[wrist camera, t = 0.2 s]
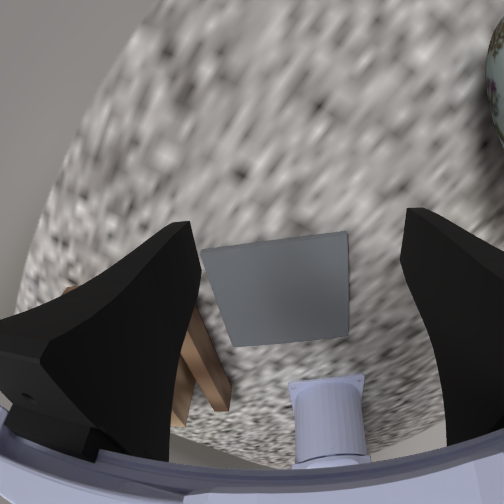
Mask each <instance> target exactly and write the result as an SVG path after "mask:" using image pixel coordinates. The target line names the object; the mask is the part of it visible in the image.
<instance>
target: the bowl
mask: <svg viewBox="0 0 504 504" xmlns="http://www.w3.org/2000/svg"><path fill="white" fill-rule="evenodd" d="M486 85H487V96H488V102H489V108H490V112H491V115H492V118H493V122H494V125H495V128H496V131H497V134H498V136H499V139H500V141H501V143H502V146H503V148H504V16H503V17H502V19H501V20H500V22H499V24H498V25H497V27H496V29H495V31H494V33H493V35H492V38H491V41H490V45H489V48H488V55H487V64H486Z"/></svg>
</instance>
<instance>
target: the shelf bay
mask: <svg viewBox="0 0 504 504" xmlns="http://www.w3.org/2000/svg"><path fill="white" fill-rule="evenodd" d="M77 287H79V286H74V287H67V288H66V290H65V291H64V293H63V294H62V295H64V294H66V293H67V292H69V291H71V290H73V289H75V288H77ZM181 354H182V356H183V358H184V360H185V362H186V363H187V365H188V367H189V369H190V370H191V372H192V374H193V376H194V377H195V379H196V381H197V383H198V384H199V386H200V388H201V389H202V391H203V393H204V394H205V396H206V398H207V399H208V401H209V403H210V404H211V406H212V408H213V409H214V411H229V407H230V399H231V391H232V387H231V385H230V383H229V380H228V378H227V376H226V374H225V372H224V369H223V367H222V365H221V363H220V360H219V358H218V356H217V354H216V351H215V349H214V347H213V345H212V342H211V340H210V338H209V335H208V333H207V331H206V328H205V326H204V323H203V321H202V319H201V316H200V314H199V311H198V309H197V307H196V304H195V307H194V310H193V313H192V317H191V320H190V323H189V326H188V329H187V333H186V336H185V339H184V342H183V346H182V349H181Z"/></svg>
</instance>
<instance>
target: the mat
mask: <svg viewBox="0 0 504 504" xmlns="http://www.w3.org/2000/svg"><path fill="white" fill-rule="evenodd" d="M200 255H201V258H202V261H203V264H204V267H205V270H206V273H207V276H208V278H209V281H210V284H211V287H212V290H213V293H214V296H215V299H216V301H217V304H218V307H219V310H220V313H221V315H222V318H223V321H224V324H225V326H226V329H227V332H228V335H229V337H230V340H231V343H232V345H233V347H243V346H257V345H269V344H281V343H291V342H301V341H310V340H319V339H327V338H335V337H343V336H348V319H349V282H348V243H347V233H346V231H343V232H335V233H327V234H319V235H311V236H303V237H295V238H287V239H280V240H272V241H264V242H256V243H249V244H241V245H234V246H226V247H218V248H211V249H203V250H201V253H200Z"/></svg>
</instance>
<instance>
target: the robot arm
mask: <svg viewBox="0 0 504 504" xmlns="http://www.w3.org/2000/svg"><path fill="white" fill-rule="evenodd" d="M400 262H401V266H402V269H403V273H404V276H405V279H406V282H407V285H408V287H409V289H410V292H411V294H412V296H413V299H414V301H415V303H416V305H417V308H418V310H419V312H420V315H421V317H422V319H423V322H424V324H425V327H426V329H427V331H428V334H429V337H430V340H431V343H432V346H433V350H434V354H435V358H436V362H437V366H438V371H439V376H440V382H441V387H442V393H443V401H444V409H445V419H446V437H447V447H443V448H440V449H436V450H432V451H428V452H424V453H419V454H415V455H410V456H406V457H400V458H395V459H389V460H384V461H377V462H371V456H370V455H367V447H366V439H365V431H364V424H363V416H362V409H361V400H362V394H363V387H364V379H365V375H364V374H362V373H360V374H353V375H346V376H338V377H330V378H322V379H312V380H302V381H292V382H289V383H288V387H289V392H290V397H291V402H292V406H293V411H294V416H295V464H292V469H289V470H251V469H228V468H214V467H213V468H212V467H202V466H192V465H184V464H176V463H169V439H170V425H171V413H172V404H173V396H174V388H175V381H176V375H177V369H178V363H179V358H180V353H181V349H182V346H183V342H184V339H185V336H186V333H187V329H188V326H189V323H190V320H191V317H192V313H193V310H194V307H195V303H196V300H197V297H198V292H199V286H200V279H201V273H202V270H201V266H200V262H199V258H198V254H197V250H196V246H195V241H194V237H193V233H192V229H191V224H190V221H183V222H173V223H171V224H169V225H167V226H166V227H164V228H163V229H161V230H160V231H159V232H157V233H156V234H154V235H153V236H152V237H151V238H149V239H148V240H147V241H145V242H144V243H143V244H141V245H140V246H139V247H137V248H136V249H135V250H134V251H132V252H131V253H129V254H128V255H127V256H125V257H124V258H122V259H121V260H120V261H118V262H117V263H116V264H114V265H113V266H111V267H110V268H108V269H107V270H105V271H104V272H102V273H101V274H99V275H98V276H96V277H94V278H93V279H91V280H89V281H88V282H86V283H84V284H83V285H81V286H79V287H77V288H75V289H73V290H71V291H69V292H67V293H66V294H64V295H62V296H60V297H58V298H56V299H54V300H51V301H49V302H47V303H45V304H42V305H40V306H38V307H35V308H33V309H30V310H28V311H25V312H22V313H19V314H16V315H13V316H10V317H7V318H4V319H2V320H0V391H1V392H2V393H3V394H4V395H5V396H6V397H7V398H8V399H9V400H10V401H11V402H12V403H13V405H12V407H11V409H10V411H8V410H7V409H5V408H4V407H2V406H0V495H1V496H2V497H3V498H5V499H6V500H8V501H9V502H11V503H12V504H504V251H502V250H500V249H498V248H496V247H494V246H492V245H491V244H489V243H487V242H485V241H483V240H482V239H480V238H478V237H476V236H475V235H473V234H471V233H469V232H468V231H466V230H464V229H463V228H461V227H459V226H457V225H456V224H454V223H452V222H451V221H449V220H447V219H445V218H444V217H442V216H440V215H438V214H436V213H434V212H432V211H430V210H428V209H425V208H407V212H406V220H405V227H404V234H403V241H402V248H401V254H400ZM359 379H361V380H359ZM292 387H294V388H292Z"/></svg>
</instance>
